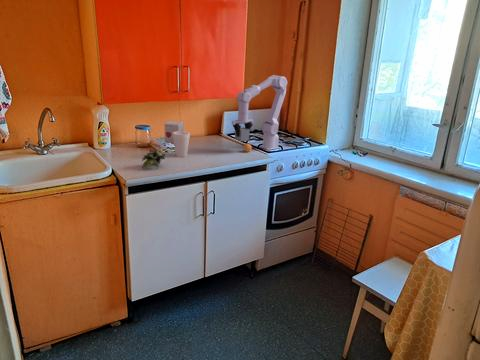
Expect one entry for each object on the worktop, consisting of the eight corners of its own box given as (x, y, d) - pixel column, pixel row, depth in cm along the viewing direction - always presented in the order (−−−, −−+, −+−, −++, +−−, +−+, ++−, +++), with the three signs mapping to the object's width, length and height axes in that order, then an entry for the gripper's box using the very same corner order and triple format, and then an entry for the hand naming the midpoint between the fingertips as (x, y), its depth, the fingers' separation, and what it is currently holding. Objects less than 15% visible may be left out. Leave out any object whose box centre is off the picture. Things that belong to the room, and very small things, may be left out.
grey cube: (243, 138, 229) (243, 127, 227) (249, 140, 225) (249, 129, 222) (234, 139, 226) (235, 128, 223) (240, 141, 221) (241, 130, 219)
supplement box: (164, 147, 228) (163, 123, 223) (170, 144, 237) (169, 120, 231) (178, 149, 227) (178, 124, 221) (184, 145, 235) (183, 121, 230)
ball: (247, 150, 232) (248, 142, 230) (253, 152, 228) (253, 144, 226) (241, 151, 229) (241, 143, 227) (246, 153, 225) (246, 145, 223)
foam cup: (169, 155, 213) (169, 133, 209) (179, 152, 221) (179, 130, 217) (183, 158, 209) (183, 135, 205) (193, 154, 217) (193, 132, 213)
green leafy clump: (154, 174, 199) (164, 154, 201) (162, 177, 190) (172, 156, 192) (135, 165, 193) (146, 144, 195) (142, 167, 184) (154, 145, 186)
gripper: (248, 110, 227) (247, 132, 231) (228, 112, 218) (228, 135, 223) (256, 112, 221) (255, 135, 226) (236, 114, 213) (235, 138, 218)
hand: (242, 135), depth 224 cm, fingers closed on grey cube, 6 cm apart
